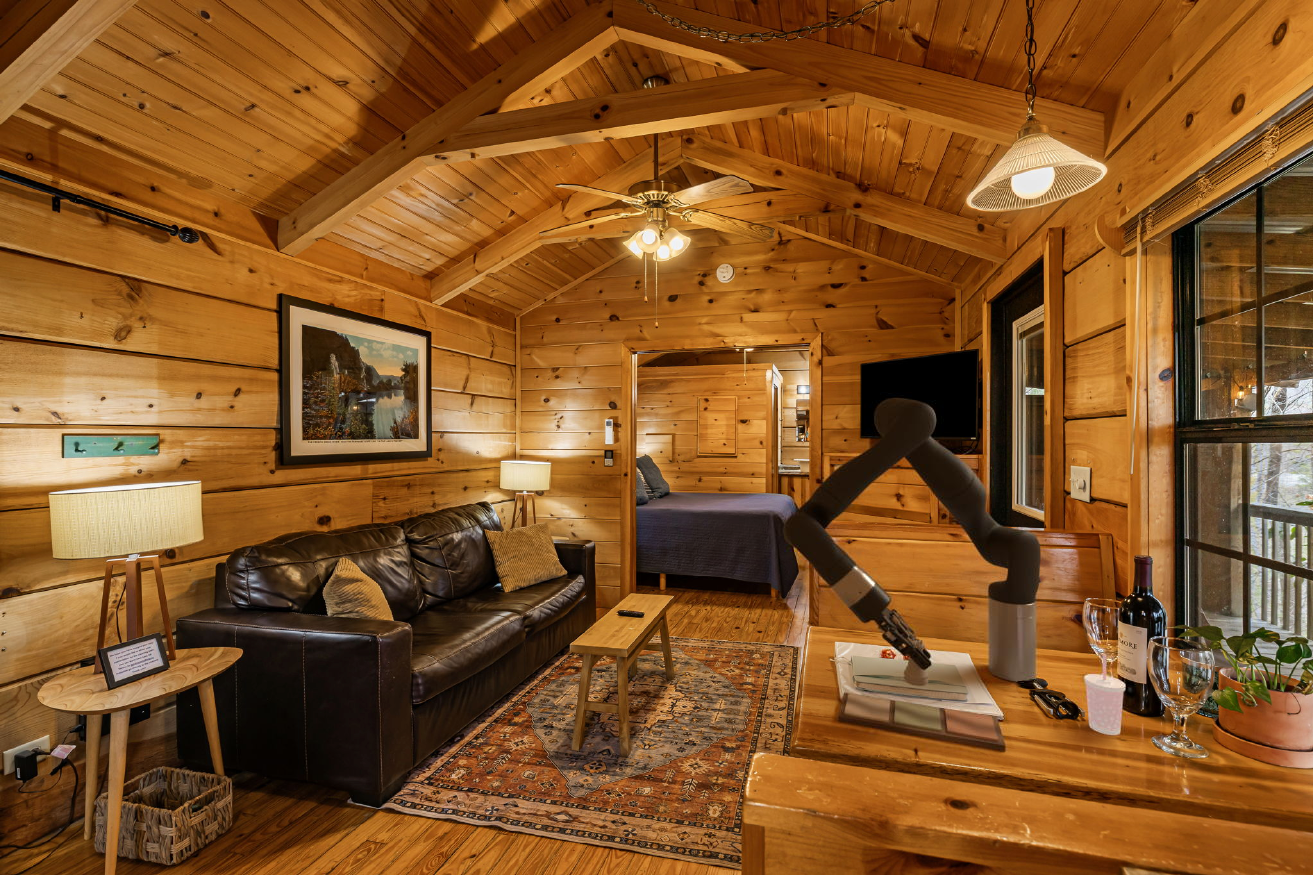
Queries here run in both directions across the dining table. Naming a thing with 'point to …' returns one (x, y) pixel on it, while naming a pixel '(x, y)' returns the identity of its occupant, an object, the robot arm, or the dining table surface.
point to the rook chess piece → (915, 669)
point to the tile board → (922, 720)
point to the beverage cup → (1104, 702)
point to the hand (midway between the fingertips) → (927, 662)
